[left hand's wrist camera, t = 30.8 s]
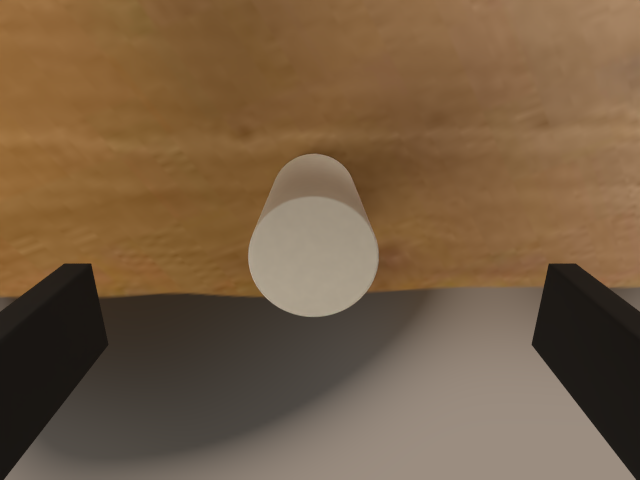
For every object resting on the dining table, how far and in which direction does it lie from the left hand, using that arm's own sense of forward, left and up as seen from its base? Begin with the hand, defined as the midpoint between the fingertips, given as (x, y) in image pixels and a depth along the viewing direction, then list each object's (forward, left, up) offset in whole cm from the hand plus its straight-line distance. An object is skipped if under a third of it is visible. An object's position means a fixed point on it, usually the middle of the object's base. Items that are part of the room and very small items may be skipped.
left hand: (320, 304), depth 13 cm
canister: (0, -1, -16) cm, 16 cm away
